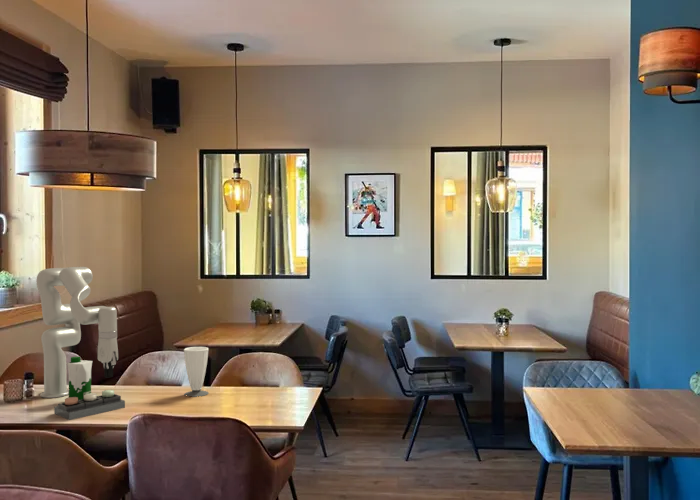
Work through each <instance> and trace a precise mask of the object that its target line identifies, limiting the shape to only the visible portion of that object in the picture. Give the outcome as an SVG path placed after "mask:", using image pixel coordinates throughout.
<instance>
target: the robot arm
mask: <svg viewBox="0 0 700 500" xmlns="http://www.w3.org/2000/svg"><path fill="white" fill-rule="evenodd" d="M93 277H94V275H93V271H92V270H91V269H90V268H89V267H87V266H70V267H54V268H53V267H52V268H51V267H50V268H44V269H42V270H41V271H39V272H38V274H37V275H36V288H37V291H38V293H39V296H40V303H41V312H42V320H43V323H44V324H45V325H46V326H59V325H65V326H61V327H60V326H59V327H52V328H49V329H46V330H44V331H43V332H42V334H41V336H40V338H41V339H40V340H41V346H42V351H43V389H44V390H43V392H41V393H40V397H41V398H45V399H46V398H47V399H51V398H52V399H53V398H61V397H65V396H69V389H67V386H68V385H67V378H68V377H67V355H66V353H65V351H64V350H63V349H62V348H66V347H67V348H68V347H72V346H73V347H74V346H76V345H78V344H79V343H80V341H81V339H82V338H81V337H82V331H81V325H93V324H98V340H97V341H98V343H97V361H99V362H101V364H103V371H104V373H103V375H104V378H105V379H109V378H113V377H114V367H115V365H116V364H117V361H118V360H119V349H118V347H119V346H118V340H117V339H118V318H117V317H118V314H117V308H116V307H114V306H105V305H96V306H87V307H85V306H84V305H83V304H82V301H84V300H85V299H87V298H88V296H89V295H91V290H92V289H91V287H90V286H89V284H91V282H92V281H93ZM60 286H61V287H63V286H64V288H65V289H66V290H67V292H68V293H69V295H70V296H71V299H70V302H69V303H62V296H61V293H60V292H59V290H58V289H57V288H56V287H60Z"/></svg>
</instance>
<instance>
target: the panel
mask: <svg viewBox="0 0 700 500" xmlns="http://www.w3.org/2000/svg"><path fill="white" fill-rule="evenodd" d="M53 407H54V409H53V411H54V412H53V413H54V415H57V416H59V417H60V418H63V419H66V420H68V421H72V420H75V419H80V418H85V417H89V416H94V415H98V414H99V415H100V414H103V413H106V412H111V411H115V410H121V409H124V408H126V401H125V399H122V395H119V394H117V393H114V396H112V397H102V394H101V395H97V399H96V400H93V401H84V399H81V400H78V403H77V404H73V405H65V402H62V403H58V404H57V405H55V406H53Z"/></svg>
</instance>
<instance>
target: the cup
mask: <svg viewBox="0 0 700 500" xmlns="http://www.w3.org/2000/svg"><path fill="white" fill-rule="evenodd" d="M183 355H184V361H185V362H184V363H185V369H186V374H187V379H188V384H189V387H190V389H191V391H187V392H185V393H183V395H184V396H185V395H187V396H192V397H191V398H199V396H201V397H204V396H207V395H209V394H210V393H209V391H206V390H202V388H203V385H204V381H205V376H206V373H207V365H208V358H209V347H208V346H207V347H206V346H189V347H185V348H184V349H183ZM187 396H186V397H187ZM197 396H198V397H197Z"/></svg>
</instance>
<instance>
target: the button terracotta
mask: <svg viewBox="0 0 700 500" xmlns="http://www.w3.org/2000/svg"><path fill="white" fill-rule="evenodd" d="M68 397H69V396H68ZM68 397H66V398H64V403H65V405H73V404H77V403H78V397H69V398H68Z"/></svg>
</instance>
